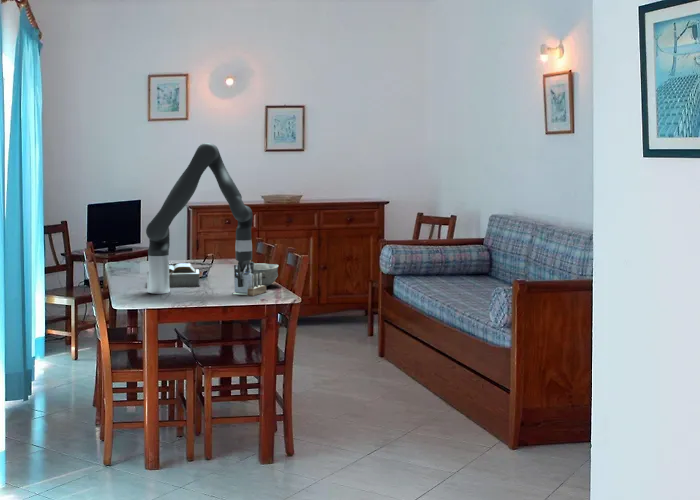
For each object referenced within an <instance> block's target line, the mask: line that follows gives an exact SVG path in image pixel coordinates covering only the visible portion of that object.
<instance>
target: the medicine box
mask: <svg viewBox="0 0 700 500" xmlns="http://www.w3.org/2000/svg"><path fill="white" fill-rule="evenodd" d="M240 275H241V274H240ZM252 275H253V274H251V273H245V274H244V275H243V278H242V279H243V287H238V279H237V278H235V276H234V277H233V278H234V282H233V283H234V293H236V292H240V293H248V291H247V289H249V288H252Z"/></svg>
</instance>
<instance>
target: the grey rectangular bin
mask: <svg viewBox="0 0 700 500" xmlns="http://www.w3.org/2000/svg"><path fill="white" fill-rule="evenodd" d="M169 284H170V288H186V287H188V288H191V287H193V288H194V286H195V287H200V286H201V285H200V269H196V268H194V267H193V265H192V264H191V263H190V262H187V263H184V262H183V263H177V264H175V266H174V265H172V264H169ZM189 286H190V287H189Z"/></svg>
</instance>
